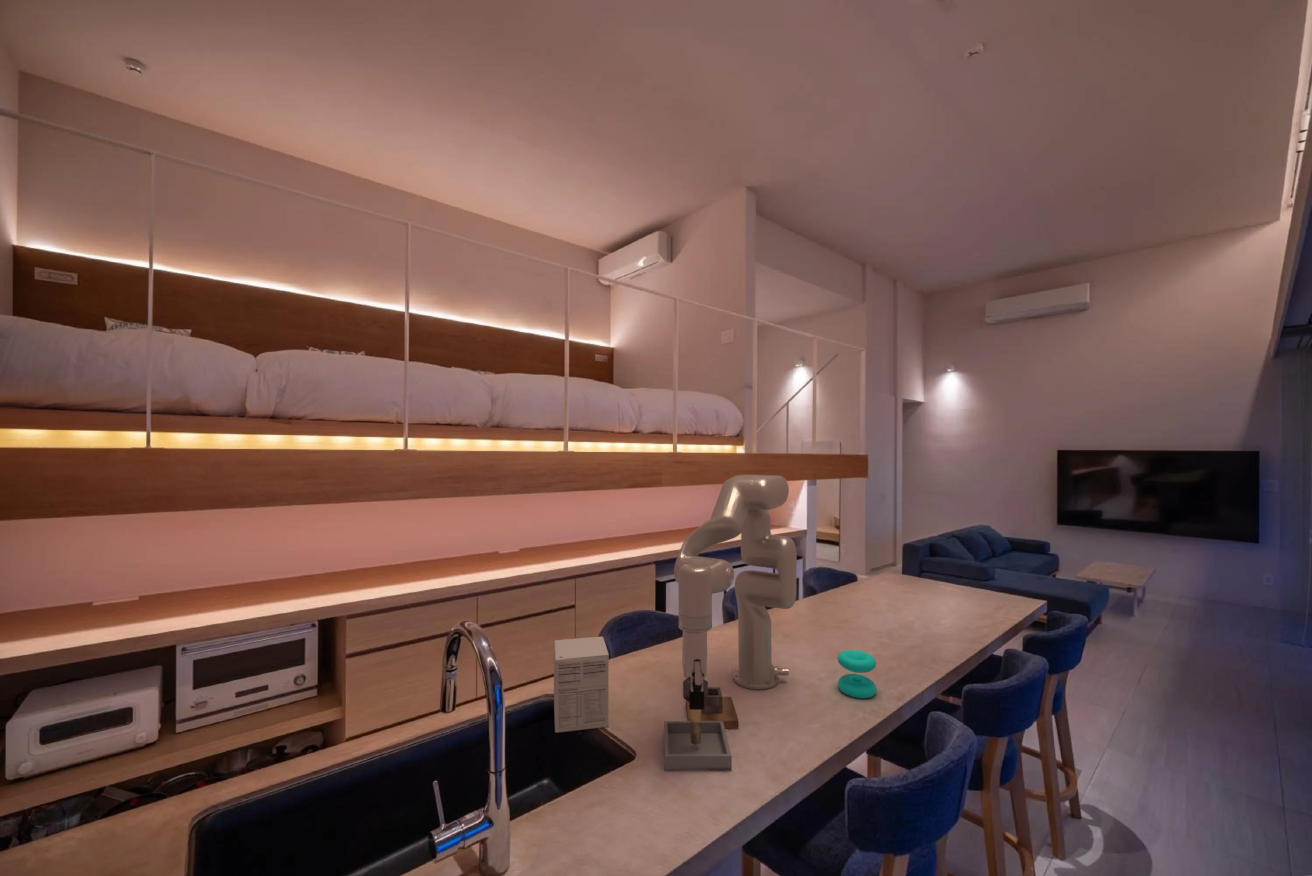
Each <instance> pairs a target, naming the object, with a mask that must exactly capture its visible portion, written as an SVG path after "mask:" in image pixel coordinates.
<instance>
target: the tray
mask: <svg viewBox="0 0 1312 876" xmlns="http://www.w3.org/2000/svg"><path fill="white" fill-rule="evenodd" d="M663 739H664V740H663V741H664V742H663V743H664V744H663V746H664V747H663V748H664V751H663V752H664V771H665V770H705V771H704V772H706V770H710V771H709V772H711V771H712V770H715V772H716V770H732V769H733V765H732V758H733V757H732V753H731V748H730V744H729V741H728V736H727V732H726V729H725V727H724V723H723V721H701V743H700V744H698V745H694V744H692V743H691V742H690V721H688V720H664V721H663ZM732 771H733V770H732Z"/></svg>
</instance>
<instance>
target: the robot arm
mask: <svg viewBox="0 0 1312 876" xmlns="http://www.w3.org/2000/svg"><path fill="white" fill-rule="evenodd" d="M789 488H790V487H789V484H788V481H787V480H786V478H785V477H784V476H782V475H775V474H773V475H771V474H770V475H769V474H767V475H766V474H738V475H734V476H732V477H731V478H728V479H726V480H725V481H724V482H723V484H722V485H721V489H720V490H719V491H720V492H719V494H718V497H717V499H716V502H715V504H714V508H713V510H712V514H711V516H710V518H709V519H708V520H707V521H706V522H703V524H701V525H700V526H699V527H696V529H694V530H693V531H692V532H691V533H690V534H688V535H687V537H686V538H685V540H684V541H683V543H682V544H681V547H680V549H679V552H678V554H677V557H676V560H675V564H674V569H673V576H674V579H675V582H677V584H678V589H677V590H678V593H677V594H678V629H679V630H681V631H682V659H681V660H682V661H681V663H682V671H683V677H684V678H685V679H687V678H690V688H691V690H689V707H690V709H691V710H703V709H704V690H703V679H705V678H706V677H707V666H708V632H710V631H711V630H712V628H713V597H712V596H713V594H718V593H723V592H726V591H727V590H728V589H729V588H731V585H733V582H734V593H735V598H736V599H735V600H736V604H737V619H738V620H737V622H738V623H737V626H738V627H737V628H738V629H737V631H738V633H737V634H738V637H737V639H738V641H737V642H738V644H737V645H738V649H737V650H738V653H737V654H738V669H737V670H735V671H734V672H733V675H732V678H733V681H734V682H735V683H736V684H737V685H739V686H741V687H743V688H744V689H745V688H746V689H750V690H759V691H760V690H767V689H771V688H774V687H775V686H776V685H777V683H778V676H784V677H785V676H789V674H790V673H789V669H788V668H786V667H785V668H783V667H782V665H775V664H773V663H772V659H773V658H772V651H773V650H772V619H771V615H770V614H769V612H768V610H767V608H766V607H768V608H775V609H782V610H789V609H792V608H793V607H794V605H795V603H796V598H797V563H798V562H797V559H798V558H797V547H796V544H795V542H794V540H793V539H792V538H791V537H789V536H787V535H780V534H772V533H771V529H772V528H771V527H772V526H771V515H770V513H769V510H775V509H776V508H777V509H778V508H779V507H782V506H783V505H785V503H786V502H787V500H788V497H789V494H790V493H789V492H790V491H789V490H790V489H789ZM739 535H741V537H740V556H741V560H742V561H743V563H744V564H745V565H747V566H751V567H752V566H753V567H758V568H767V569H774V570H775V569H776V570H777V573H776V572H775V573H774V572H767V571H761V570H751V569H750V570H743V571H740V572H739V573H738V574H737V575H736V577H735V570H734V568H733V566H732V564H731V563H730V562H729V561H727V560H725V559H722V558H713V557H712V558H711V557H706V556H699V555H700V554H701V553H702V551H704V550H705V549H707V548H709V547H713V546H715V545H717V544H721V543H725V542H728V541H730V540H733V539H735V538H737V537H738V536H739ZM734 578H735V580H734ZM693 679H695V682H694V683H693Z"/></svg>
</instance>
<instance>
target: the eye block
mask: <svg viewBox="0 0 1312 876" xmlns="http://www.w3.org/2000/svg"><path fill="white" fill-rule="evenodd" d="M685 707H686V708H685V709H686V717H687V721H690V707H689V701H687V700H685ZM736 711H737V710H736V708H735V705H734V701H733V698H732V696H723V694H722V689H721V687H715V686H713V687H711V686H708V699H707V700H706V701H704V709H703V710H701V721H723V723H724V727H725V730H739V725H740V724H739V723H740V722H739V718H738V715H737V712H736Z"/></svg>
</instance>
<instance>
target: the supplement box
mask: <svg viewBox="0 0 1312 876" xmlns="http://www.w3.org/2000/svg"><path fill="white" fill-rule="evenodd" d="M553 645H554V646H553V647H554V649H553V709H554V710H553V713H554V715H553V716H554V732H555V733H564V732H565V733H566V732H575V731H582V730H583V731H584V730H590V729H598V728H599V729H600V728H608V727H609V669H610V668H609V661H610V660H609V659H610V658H609V657H610V654H609V651H608V648H607V644H606V642H605V639H604V636H595V637H593V636H591V637H581V638H580V637H578V638H568V639H567V638H566V639H554V641H553Z"/></svg>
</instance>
